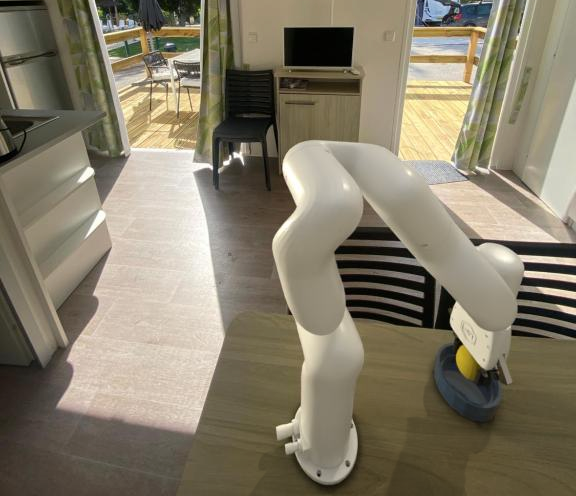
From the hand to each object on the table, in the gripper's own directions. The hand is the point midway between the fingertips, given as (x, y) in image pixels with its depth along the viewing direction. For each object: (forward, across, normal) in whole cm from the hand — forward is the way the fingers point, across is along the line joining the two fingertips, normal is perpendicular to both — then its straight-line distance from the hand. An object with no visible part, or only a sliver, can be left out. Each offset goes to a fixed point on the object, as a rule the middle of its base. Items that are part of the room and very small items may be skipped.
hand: (470, 365), depth 63 cm
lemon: (+3, 0, 0) cm, 3 cm away
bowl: (+7, 0, 0) cm, 7 cm away
